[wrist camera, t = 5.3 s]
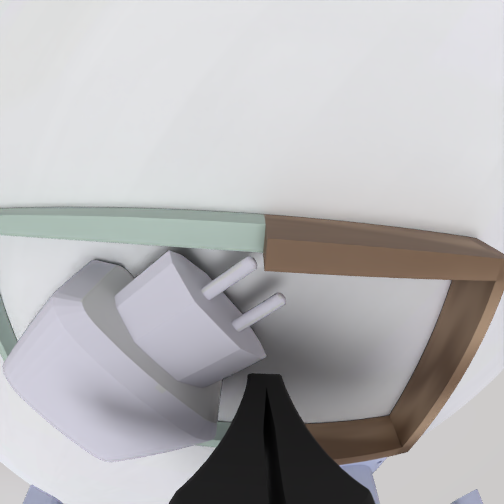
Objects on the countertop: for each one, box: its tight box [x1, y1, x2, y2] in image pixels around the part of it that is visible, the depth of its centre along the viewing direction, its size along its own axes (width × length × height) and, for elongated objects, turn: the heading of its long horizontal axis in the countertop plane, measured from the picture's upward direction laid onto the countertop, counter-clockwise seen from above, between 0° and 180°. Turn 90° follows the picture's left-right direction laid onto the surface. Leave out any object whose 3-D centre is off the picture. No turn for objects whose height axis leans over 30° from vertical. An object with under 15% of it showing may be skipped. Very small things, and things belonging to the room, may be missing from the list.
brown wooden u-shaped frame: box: [263, 214, 504, 465], centre depth 12 cm, size 14×11×3 cm
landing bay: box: [0, 207, 266, 447], centre depth 13 cm, size 14×18×2 cm
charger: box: [3, 250, 286, 462], centre depth 11 cm, size 5×9×15 cm
